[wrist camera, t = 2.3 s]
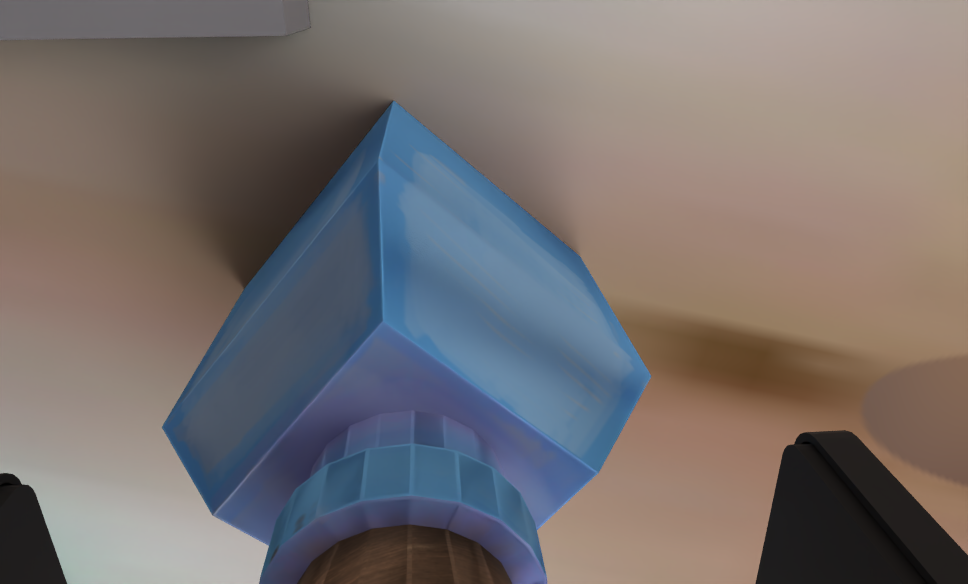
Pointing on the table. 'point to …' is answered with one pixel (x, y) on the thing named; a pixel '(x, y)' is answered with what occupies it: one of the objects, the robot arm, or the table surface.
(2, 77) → the table surface
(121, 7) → the camera body block
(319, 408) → the perfume bottle
